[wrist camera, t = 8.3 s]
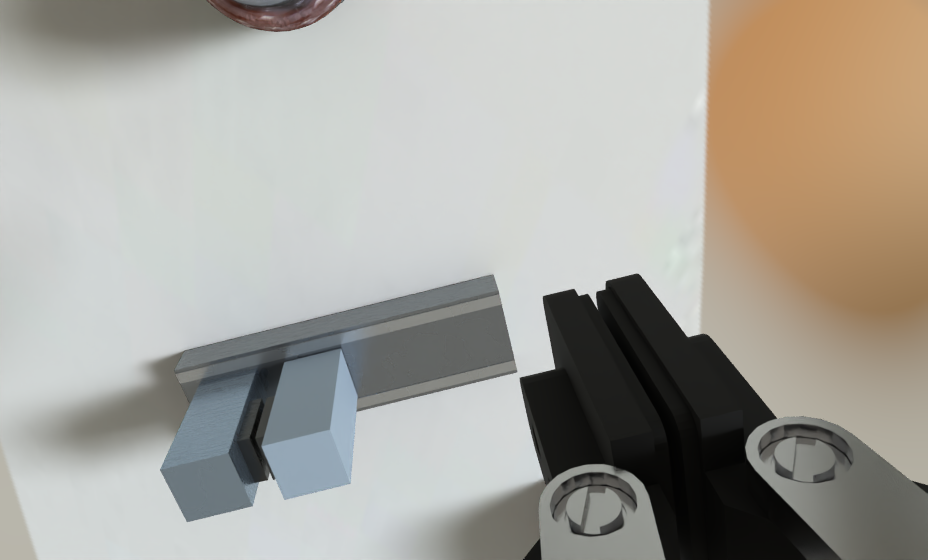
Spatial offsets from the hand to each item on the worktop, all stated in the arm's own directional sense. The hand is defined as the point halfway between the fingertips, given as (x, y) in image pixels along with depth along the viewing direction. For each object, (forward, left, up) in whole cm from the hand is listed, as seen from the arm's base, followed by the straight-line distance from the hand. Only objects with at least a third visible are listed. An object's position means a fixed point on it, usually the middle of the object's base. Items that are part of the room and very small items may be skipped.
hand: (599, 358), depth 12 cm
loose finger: (+11, -11, -22) cm, 27 cm away
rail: (+11, -9, -24) cm, 28 cm away
